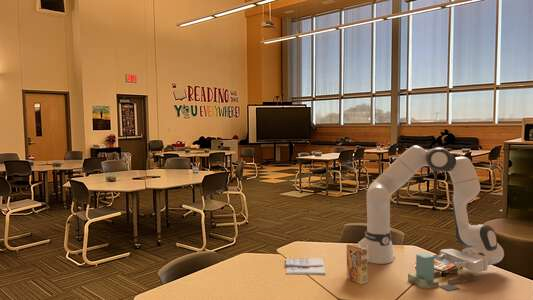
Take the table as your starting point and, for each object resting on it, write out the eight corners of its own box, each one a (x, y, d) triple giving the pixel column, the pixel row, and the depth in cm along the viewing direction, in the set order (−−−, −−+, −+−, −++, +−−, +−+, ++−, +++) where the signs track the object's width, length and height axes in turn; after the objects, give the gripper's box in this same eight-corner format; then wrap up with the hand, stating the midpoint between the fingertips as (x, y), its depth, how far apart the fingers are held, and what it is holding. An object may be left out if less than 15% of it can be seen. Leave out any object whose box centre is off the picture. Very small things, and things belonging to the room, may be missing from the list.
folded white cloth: (323, 261, 206) (323, 257, 206) (325, 276, 186) (325, 271, 186) (285, 261, 208) (285, 256, 208) (283, 275, 188) (283, 271, 188)
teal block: (416, 281, 177) (416, 254, 176) (425, 280, 178) (425, 253, 178) (424, 285, 172) (424, 257, 171) (433, 284, 174) (434, 256, 173)
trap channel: (400, 276, 183) (400, 269, 183) (447, 268, 192) (447, 262, 192) (433, 293, 164) (433, 286, 164) (483, 284, 173) (483, 277, 172)
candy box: (368, 282, 176) (367, 247, 175) (361, 285, 174) (360, 249, 173) (353, 276, 184) (352, 243, 183) (346, 278, 181) (346, 244, 180)
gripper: (453, 244, 193) (429, 247, 188) (490, 257, 173) (465, 261, 169) (453, 257, 193) (429, 261, 188) (490, 271, 174) (465, 276, 169)
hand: (446, 261), depth 178 cm, fingers open, 8 cm apart
